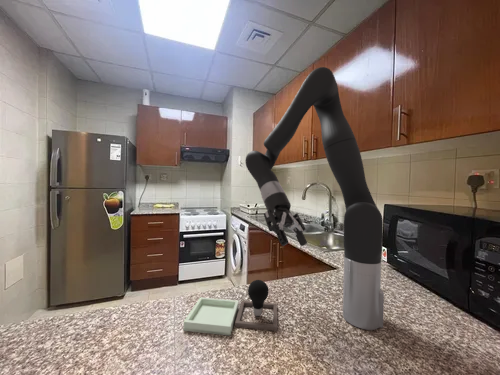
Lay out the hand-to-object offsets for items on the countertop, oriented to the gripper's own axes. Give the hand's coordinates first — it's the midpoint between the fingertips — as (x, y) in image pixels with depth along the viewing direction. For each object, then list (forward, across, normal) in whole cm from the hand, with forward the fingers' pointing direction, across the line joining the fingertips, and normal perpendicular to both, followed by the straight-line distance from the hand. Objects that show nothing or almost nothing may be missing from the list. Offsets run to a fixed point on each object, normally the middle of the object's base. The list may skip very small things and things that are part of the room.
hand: (295, 244), depth 58 cm
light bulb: (+12, -4, +19) cm, 23 cm away
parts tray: (+10, -14, +25) cm, 30 cm away
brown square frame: (+12, -4, +19) cm, 23 cm away
